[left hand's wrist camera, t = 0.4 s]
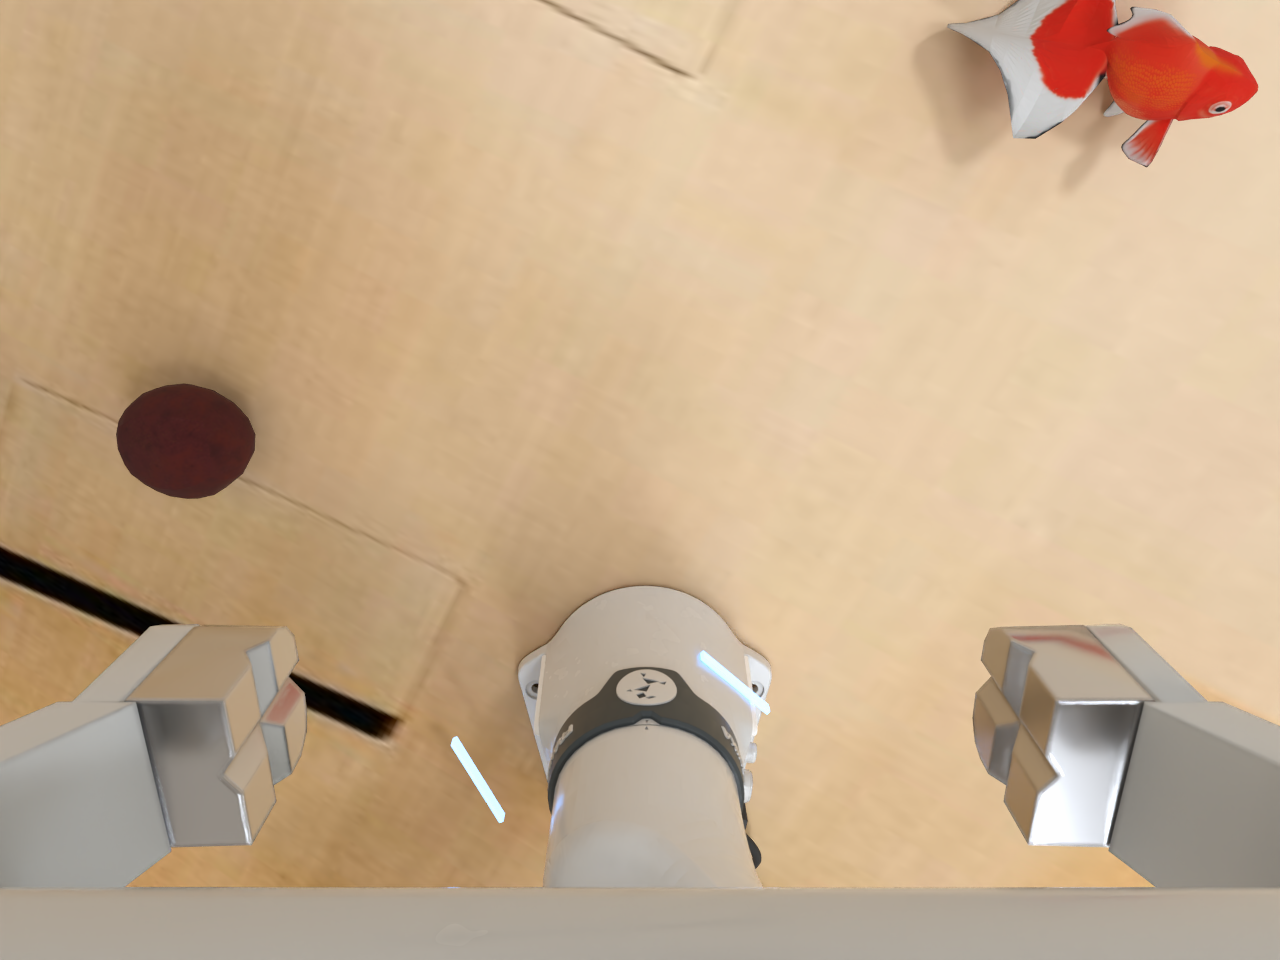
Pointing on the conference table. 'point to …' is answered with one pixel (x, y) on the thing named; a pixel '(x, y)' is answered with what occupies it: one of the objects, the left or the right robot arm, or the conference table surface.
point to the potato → (185, 440)
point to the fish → (1107, 67)
